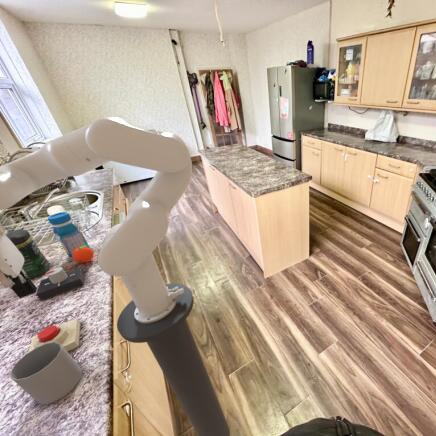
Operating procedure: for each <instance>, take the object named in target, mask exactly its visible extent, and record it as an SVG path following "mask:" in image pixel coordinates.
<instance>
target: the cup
mask: <svg viewBox="0 0 436 436" xmlns="http://www.w3.org/2000/svg"><path fill="white" fill-rule="evenodd" d="M28 352H29V351H28ZM28 352H27V353H25V354H24V355H23V356H22V357H21V358H20V359H18V361H17V362H16V363H15V364H14V365H13V367H12V368H11V370H10V373H9V375H10V376H9V378H10V379H11V380H13V382H14V383H15V384H17V385H18V386H19V387H20V388H21V389H22V390H23V391H24V392H26V393H27V394H28V395H29V396H30V398H32V399H33V400H35V402H37V403H38V404H40V405H43V406H44V405H49V404H53V403H54V402H57V401H59V400H61V399H62V398H64V397H65V396H67V395H68V394H69V393H70V392H71V391H73V389H74V388H75V387H76V386H77V384H78V383H79V382H80V380H81V377H82V375H83V372H82V371H83V370H82V367H80V365H79V364H78V363H77V361H75V359H74V358H73V357H72V355H71V354H70V353H69V351H68V352H67V351H66V350H65V349H64V347H63V346H62V345H61V344H60V343H57V342H52V343H46V344H44V345H42V346H39V347H37V348H35V349H33V350H32V351H30V352H29V353H28Z"/></svg>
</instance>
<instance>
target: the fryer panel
mask: <svg viewBox="0 0 436 436" xmlns="http://www.w3.org/2000/svg"><path fill="white" fill-rule="evenodd" d="M65 273H66V274H67V276H68V277H67V279H65V280H64V281H62V282H60V283H56V284H53V283H52V282H51V280H50V279H49V278H48V277H47V278H43V279H41V280H40V282H39V285H38V287H37V290H36V293H35V295H36V296H37V298H38V299H39V300H40V301H44V300H46V299H49V298H52V297H55V296H57V295H60V294H62V293H66V292H68V291H71V290H73V289H76V288H79V287H81V286H84V284H85V273H86V272H85V270H84V269H83V268H82V266H80V267H77V268H73V269H71V270H67V271H65Z"/></svg>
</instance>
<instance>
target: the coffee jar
mask: <svg viewBox="0 0 436 436" xmlns="http://www.w3.org/2000/svg"><path fill="white" fill-rule="evenodd" d="M5 235H6V236H7V237H8V238H9V239H10V240H11V242H12V243H13V244H14V245H15V246H16V247H17V249H18V250H19V251H20V253H21V254H22V256H23V257H24V264H23V266H22V268H23V270H24V271H25V272H26V274H27V276H28V277H27V278H30V279H33V278H37V277H39V276H40V275H43V274H46V273H47V272H48V270H49V268H50V264H51V263H50V262H49V260H48V259H47V258H46V256H45V255H44V254H43V252H42V251H41V250H40V248H39V247H38V245H37V244H36V242H35V241H34V239H33V236H32V235H31V233H29V230H27V229H23V228H20V229H15V230H11V231H7V234H5Z"/></svg>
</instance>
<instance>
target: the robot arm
mask: <svg viewBox="0 0 436 436" xmlns="http://www.w3.org/2000/svg"><path fill="white" fill-rule="evenodd" d="M110 162H115V163H119V164H121V165H127V166H132V167H135V168H136V167H137V168H139V169H140V168H141V169H146V170H150V171H155V172H156V173H155V174H154V176H153V177H152V178H151V180H150V182H149V183H148V185H147V186H146V187H145V188H144V189H143V191H142V192H141V193H140V195H139V196H137V197H136V199H135V200H133V202H132V203H131V204H130V206H129V208H128V210H127V214H126V217H125V218H124V220H123V221H122V222H120V223H118V224H115V225H113V226H112V227H110V228H109V230H108V231H107V232H106V234H105V236H104V239H103V241H102V244H101V247H100V249H99V252H98V255H97V265H98V266H99V268H100V269H101V270H102V272H104V273H105V274H106V275H109V276H113V277H120V278H121V280H122V282H123V284H124V286H125V288H126V289H127V292H128V294H129V296H130V298H131V300H133V301H134V303H135V305H136V307H137V308H136V309H135V312H134V316H135V318H136V320H137V321H138V322H140V323H152V322H155V321H158V320H160V319H162V318H164V317H165V316H167V315H168V314H169V313H170V312H171V311H172V310H173V309H174V307H175V305H176V302H177V299H176V297H177V296H179V295H182V294H184V293H185V292H184V290H183V288H181V289H179V288H178V286H177V287H175V288H173V289H169V290H168V287H167V286H165V284H166V283H165V281H164V279H163V276H162V274H161V271H160V269H159V265H158V264H157V261H156V258H155V256H154V254H153V252H154V251H155V250H156V248H157V247H158V245H159V244H161V242H162V241H163V239H164V238H165V237H166V234H167V232H168V230H169V226H170V214H171V212H172V210H173V209H174V207H175V206H176V205H177V203H178V202H179V201H180V199H181V198H182V196H183V195H184V194H185V192H186V191H187V189H188V187H189V185H190V182H191V179H192V175H193V161H192V157H191V154H190V151H189V148H188V147H187V145H186V143H185V141H184V140H183V139H182V138H181V137H180V136H179V135H177V134H175V133H173V132H162V133H158V132H157V133H156V132H152V131H149V130H146V129H142V128H139V127H136V126H132V125H131V124H130V123H129V122H127V121H126V120H124V119H123V118H121V117H116V116H106V117H102V118H98V119H95V120H94V121H92V122H90V123H88V124H86V125H84V126H82V127H79V128H77V129H75V130H73V131H70V132H68V133H66V134H63V135H61V136H58V137H56V138H54V139H51V140H49V141H47V142H45V143H44V144H43V145H42V146H41V147H40V148H39V149H37V150H35V151H33V152H30V153H29V154H25V155H24V156H22V157H19V158H17V159H15V160H12V161H10V162H8V163H5V164H2V165H0V211H3V210H6V209H9V208H11V207H13V206H14V205H16V204H17V203H19V202H20V201H21V200H23V199H24V198H26V197H27V196H29V195H31V194H32V193H34V192H36V191H39V190H40V189H42V188H45V187H46V186H49V185H51V184H53V183H55V182H58V181H59V180H62V179H64V178H68V177H79V176H82V175H84V174H86V173H89V172H91V171H93V170H95V169H97V168H99V167H101V166H103V165H106V164H107V163H110ZM7 233H8V230H7V229H6V228H5V226H4V225H3V224H2V222H0V284H1V285H2V287H3V288H4V289H7V288H9V289H11V290H12V292H13V293H14V294H15V295H16V296H17V297H18V298H20V299H23V298H25V297H28V296H30V295H33V294H36V293H37V290H38V287H37V286H36V284H35V283H34V282H33V280H31V278H27V277H28V276H27V274H26V272H25V271H24V270H23V268H22V266H23V264H24V257H23V256H22V254H21V253H20V251H19V250H18V249H17V247H16V246H15V245H14V244H13V243H12V242H11V240H10V239H9V238H8V237H7V236H6V235H5V234H7Z"/></svg>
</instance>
